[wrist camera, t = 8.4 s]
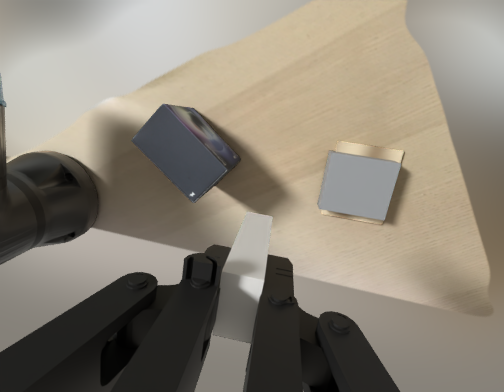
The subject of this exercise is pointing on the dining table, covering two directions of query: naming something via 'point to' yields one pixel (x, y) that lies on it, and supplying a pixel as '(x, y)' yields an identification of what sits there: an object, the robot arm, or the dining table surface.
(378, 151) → the cork mat
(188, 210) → the dining table surface
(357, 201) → the grey square slab
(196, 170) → the small box
